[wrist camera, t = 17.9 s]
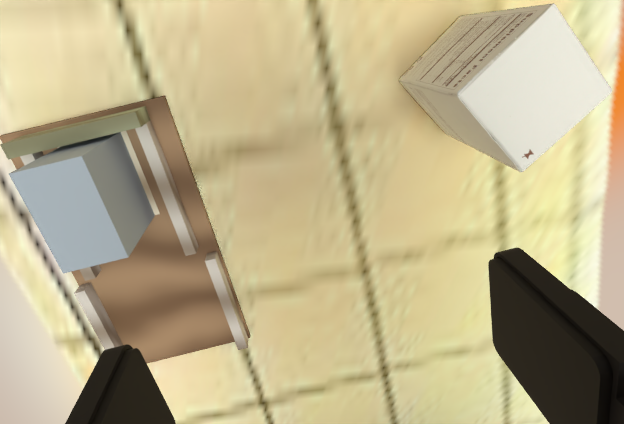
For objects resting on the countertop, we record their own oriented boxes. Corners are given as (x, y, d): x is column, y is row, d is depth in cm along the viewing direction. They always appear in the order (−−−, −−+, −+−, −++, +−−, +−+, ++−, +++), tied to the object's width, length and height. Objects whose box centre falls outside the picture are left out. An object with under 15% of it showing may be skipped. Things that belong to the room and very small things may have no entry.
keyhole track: (250, 335, 45) (248, 357, 42) (124, 366, 45) (114, 390, 42) (164, 95, 35) (154, 101, 32) (1, 135, 35) (-25, 144, 32)
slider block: (154, 215, 38) (128, 257, 31) (102, 228, 38) (63, 273, 31) (120, 131, 35) (81, 156, 28) (62, 145, 35) (8, 173, 28)
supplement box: (508, 76, 37) (618, 93, 26) (445, 136, 39) (521, 177, 27) (460, 11, 35) (558, -2, 23) (394, 78, 36) (455, 96, 25)
